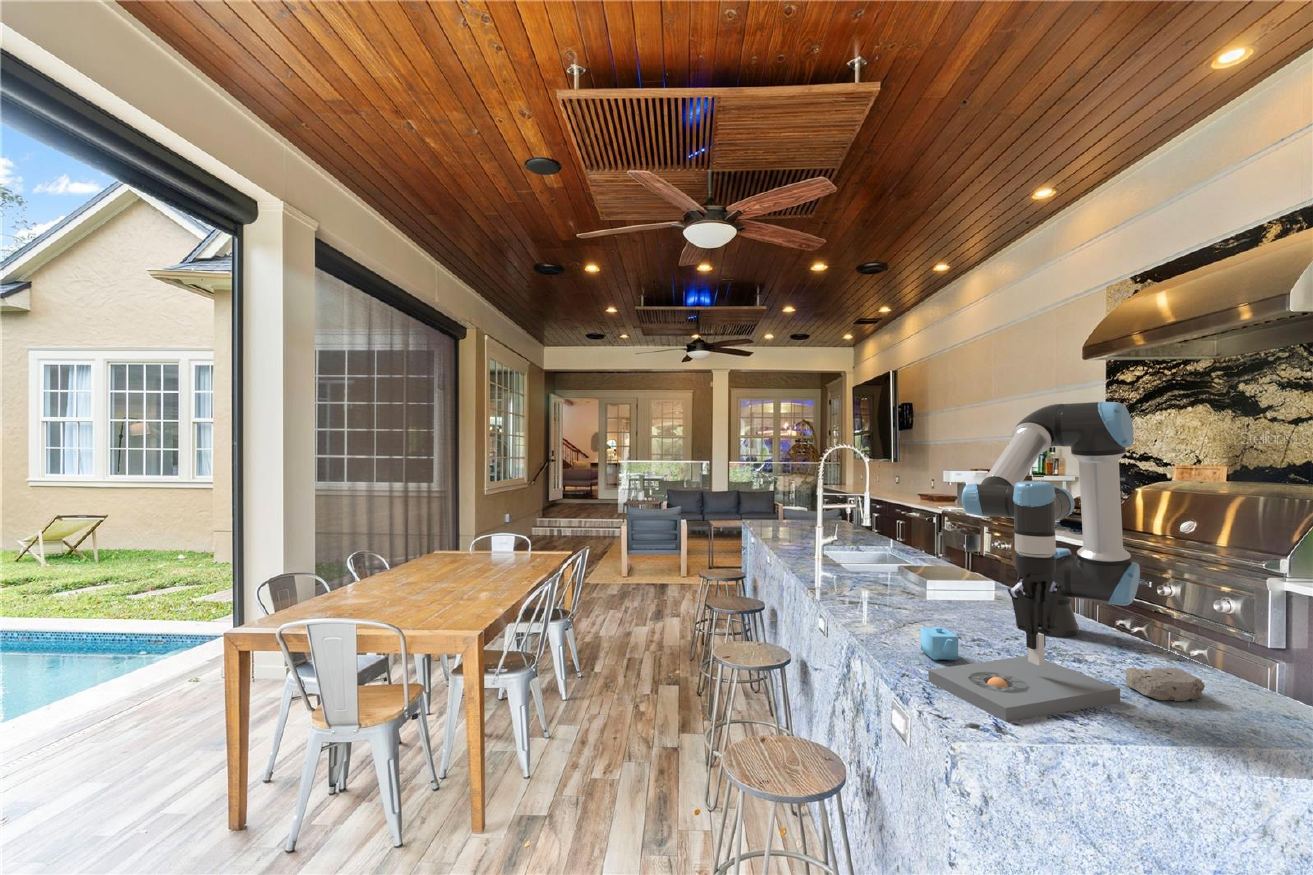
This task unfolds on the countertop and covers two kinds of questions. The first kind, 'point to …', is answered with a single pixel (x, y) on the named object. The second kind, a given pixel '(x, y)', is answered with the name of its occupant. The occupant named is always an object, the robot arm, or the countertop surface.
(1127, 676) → the stone
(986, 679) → the plate
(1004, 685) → the ball
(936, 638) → the light blue teapot
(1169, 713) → the countertop surface
